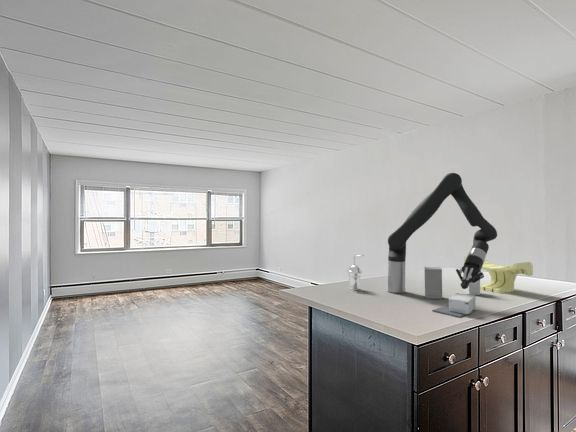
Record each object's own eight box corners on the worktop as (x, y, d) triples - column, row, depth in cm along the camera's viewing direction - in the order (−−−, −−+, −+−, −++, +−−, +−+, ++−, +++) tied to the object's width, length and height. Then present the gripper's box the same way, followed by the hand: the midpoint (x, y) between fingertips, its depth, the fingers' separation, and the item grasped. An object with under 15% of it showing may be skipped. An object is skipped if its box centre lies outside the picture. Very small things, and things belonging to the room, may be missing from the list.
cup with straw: (352, 286, 205) (352, 253, 205) (365, 289, 199) (365, 254, 199) (344, 289, 199) (344, 254, 199) (357, 291, 193) (357, 255, 193)
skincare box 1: (441, 296, 182) (441, 266, 182) (442, 300, 175) (442, 268, 175) (424, 295, 185) (424, 265, 185) (424, 298, 178) (424, 267, 178)
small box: (480, 295, 186) (480, 276, 186) (468, 294, 187) (469, 275, 187) (475, 292, 193) (475, 273, 193) (464, 291, 195) (464, 273, 195)
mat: (449, 305, 164) (449, 304, 164) (476, 311, 155) (476, 309, 155) (432, 311, 154) (432, 310, 154) (459, 317, 145) (459, 316, 145)
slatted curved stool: (532, 293, 191) (532, 261, 190) (516, 296, 183) (516, 263, 183) (480, 283, 217) (480, 255, 217) (464, 286, 210) (464, 256, 209)
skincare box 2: (457, 304, 164) (447, 311, 153) (457, 292, 164) (447, 298, 153) (476, 307, 159) (468, 315, 147) (476, 294, 158) (468, 301, 147)
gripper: (459, 253, 171) (446, 280, 164) (487, 255, 161) (476, 285, 153) (463, 262, 175) (452, 290, 167) (492, 266, 164) (481, 295, 157)
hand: (463, 287), depth 160 cm, fingers closed
